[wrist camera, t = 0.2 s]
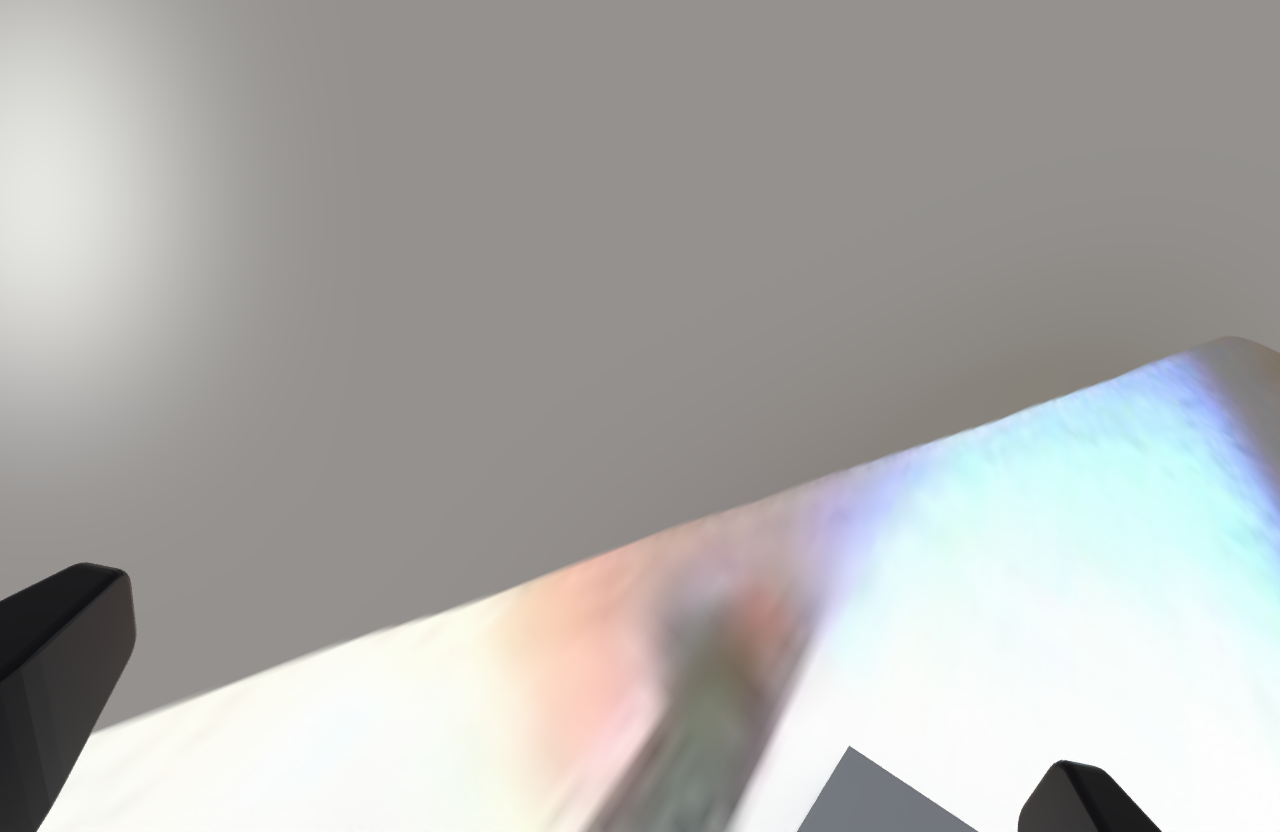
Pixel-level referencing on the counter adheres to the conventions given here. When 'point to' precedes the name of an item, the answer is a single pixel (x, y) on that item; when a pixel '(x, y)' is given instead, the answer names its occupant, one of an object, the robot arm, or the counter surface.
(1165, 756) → the counter surface
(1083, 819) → the robot arm
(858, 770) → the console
